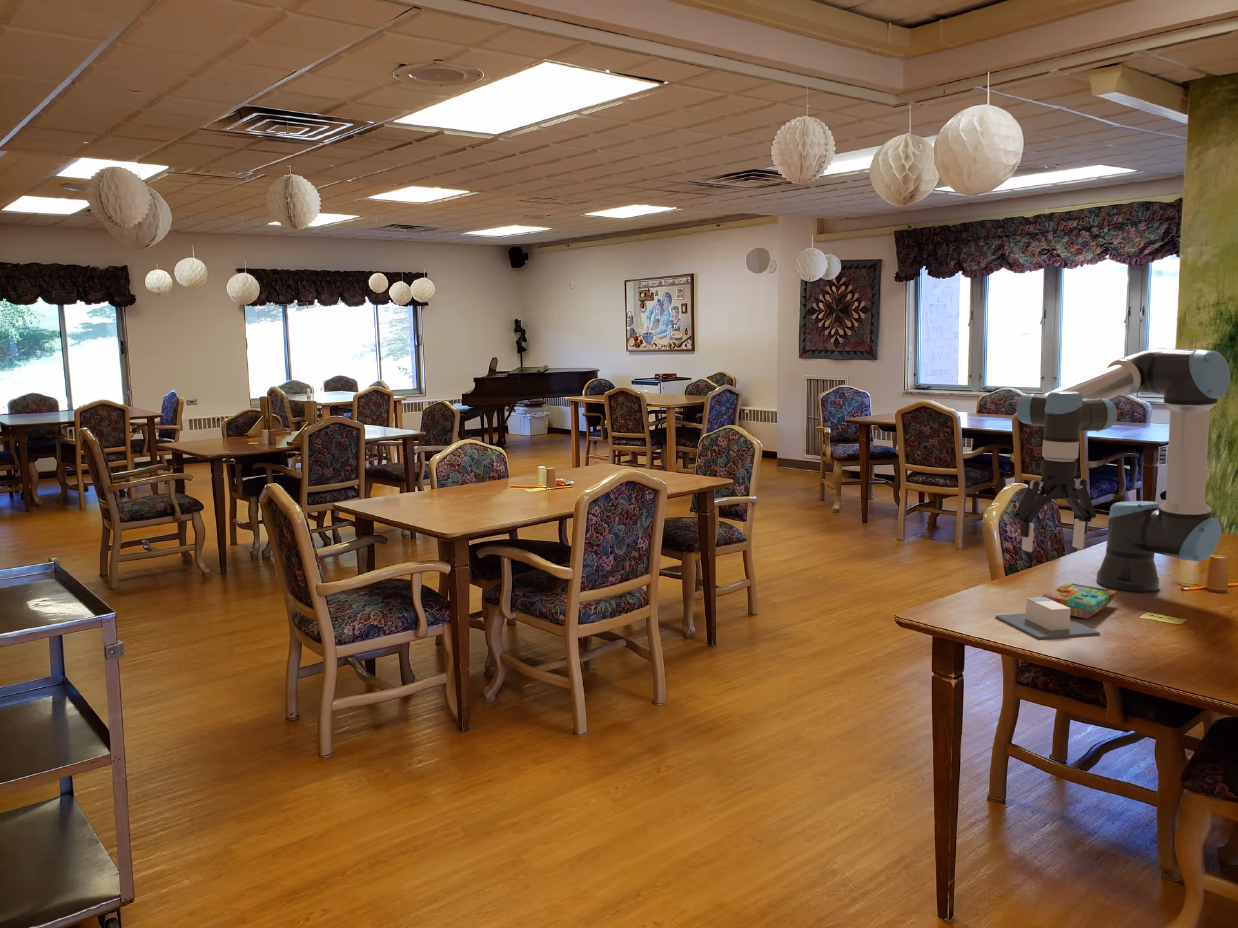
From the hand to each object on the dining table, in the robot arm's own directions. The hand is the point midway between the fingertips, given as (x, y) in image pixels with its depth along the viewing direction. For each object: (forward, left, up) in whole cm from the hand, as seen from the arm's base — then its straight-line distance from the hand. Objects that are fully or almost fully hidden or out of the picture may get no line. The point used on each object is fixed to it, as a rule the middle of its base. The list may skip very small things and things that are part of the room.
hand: (1052, 549), depth 218 cm
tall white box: (0, 0, -18) cm, 18 cm away
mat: (0, 0, -19) cm, 19 cm away
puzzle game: (-17, -10, -18) cm, 27 cm away
